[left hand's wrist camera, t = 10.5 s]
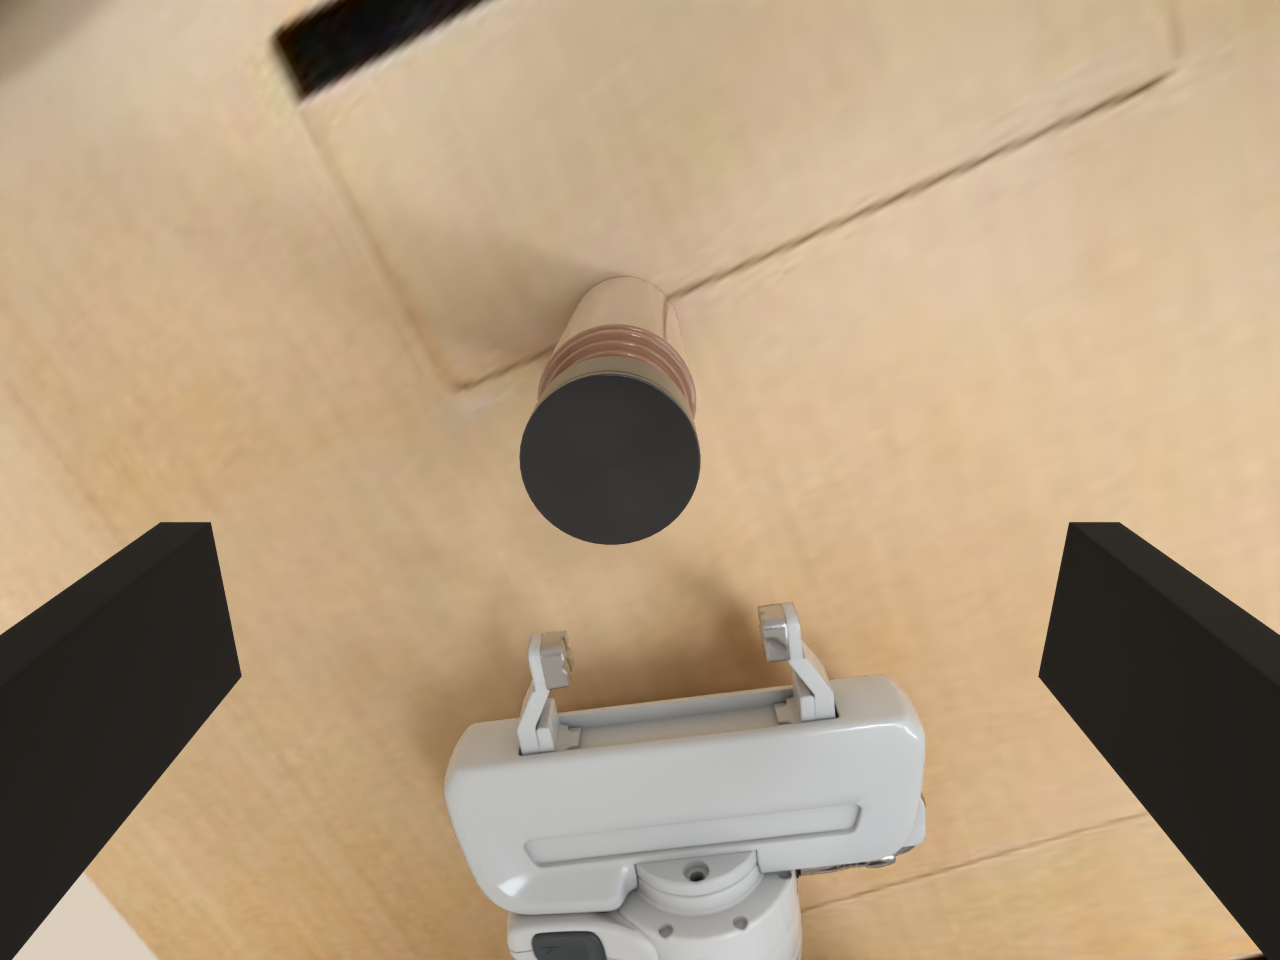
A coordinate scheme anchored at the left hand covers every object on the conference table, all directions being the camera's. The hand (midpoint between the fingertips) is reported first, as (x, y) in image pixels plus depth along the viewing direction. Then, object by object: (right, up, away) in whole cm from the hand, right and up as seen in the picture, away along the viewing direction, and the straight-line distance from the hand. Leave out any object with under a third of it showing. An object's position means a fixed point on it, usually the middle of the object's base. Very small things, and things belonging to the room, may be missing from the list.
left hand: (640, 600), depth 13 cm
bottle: (-1, +8, +22) cm, 24 cm away
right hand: (+1, -4, +20) cm, 20 cm away
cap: (-1, +2, +6) cm, 7 cm away
